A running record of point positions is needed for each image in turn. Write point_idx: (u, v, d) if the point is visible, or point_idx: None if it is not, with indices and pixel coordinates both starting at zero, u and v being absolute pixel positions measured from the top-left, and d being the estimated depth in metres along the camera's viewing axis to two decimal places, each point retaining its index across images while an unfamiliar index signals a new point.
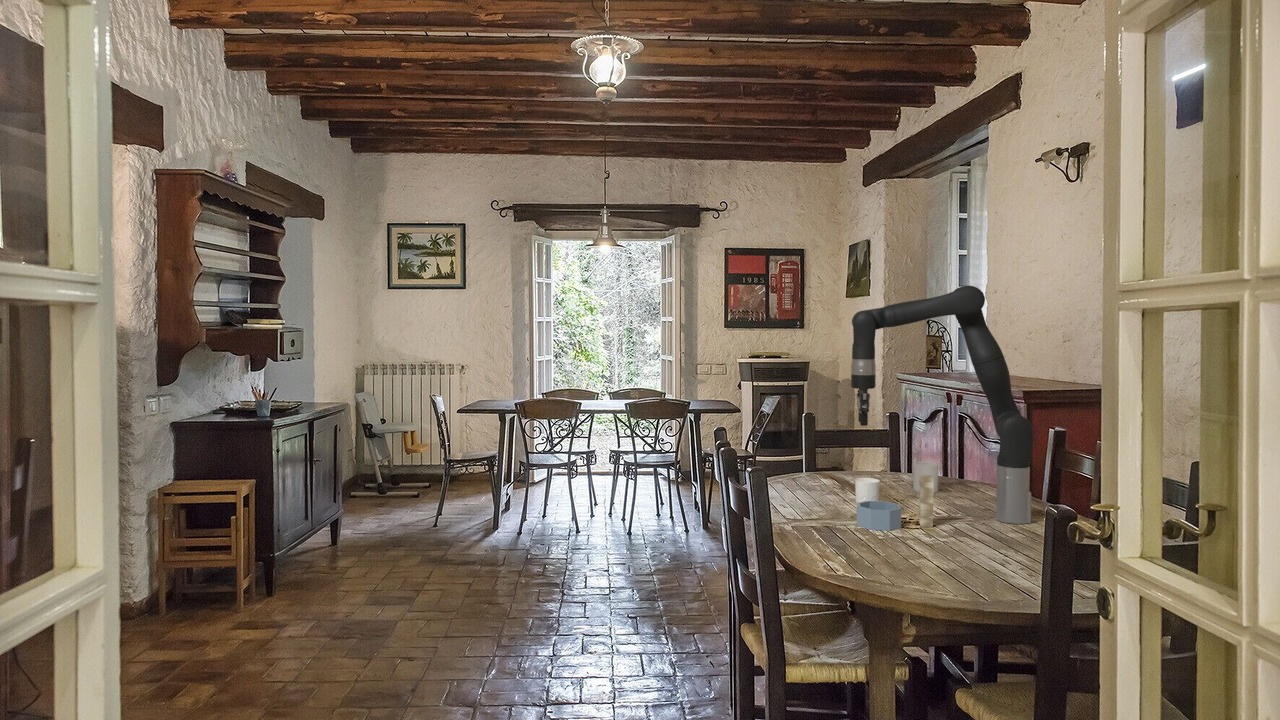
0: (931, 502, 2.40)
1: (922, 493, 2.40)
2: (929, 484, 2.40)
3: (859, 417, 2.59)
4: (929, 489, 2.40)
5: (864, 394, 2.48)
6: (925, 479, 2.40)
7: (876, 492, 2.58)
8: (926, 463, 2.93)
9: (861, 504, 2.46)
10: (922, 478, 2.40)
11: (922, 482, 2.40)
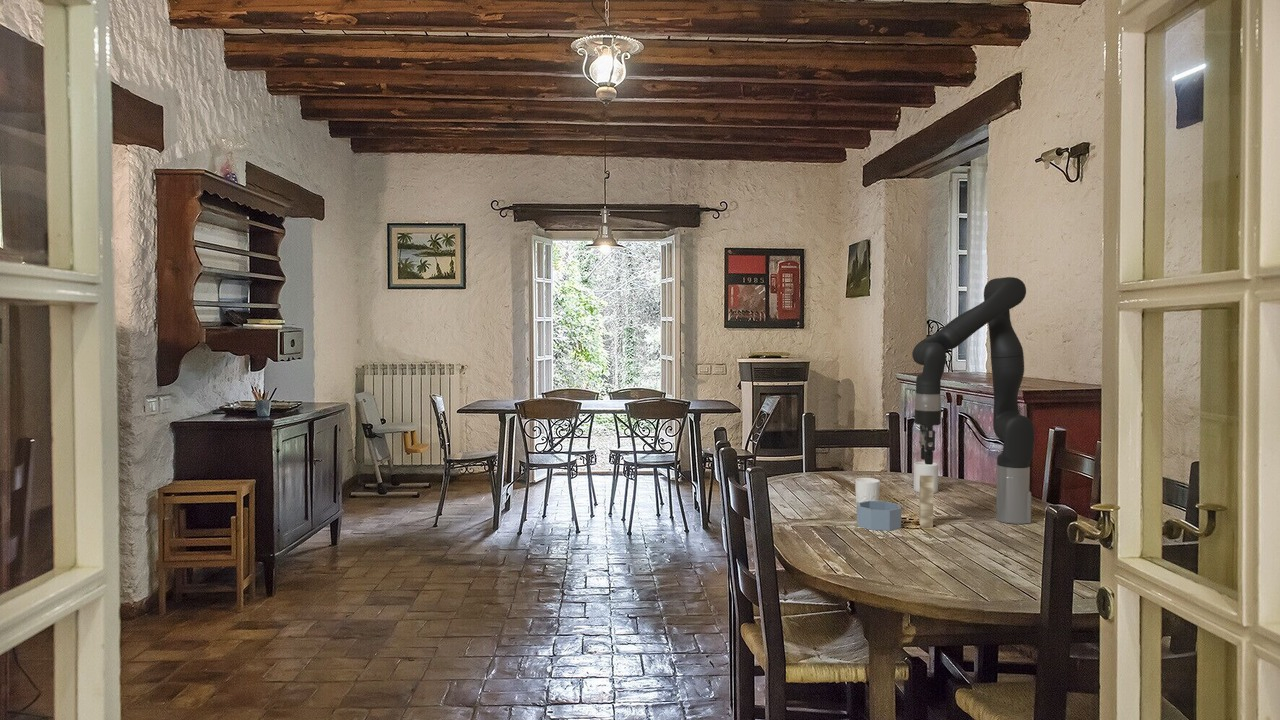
0: (931, 502, 2.40)
1: (922, 493, 2.40)
2: (929, 484, 2.40)
3: (922, 454, 2.45)
4: (929, 489, 2.40)
5: (930, 431, 2.34)
6: (925, 479, 2.40)
7: (876, 492, 2.58)
8: None
9: (861, 504, 2.46)
10: (922, 478, 2.40)
11: (922, 482, 2.40)
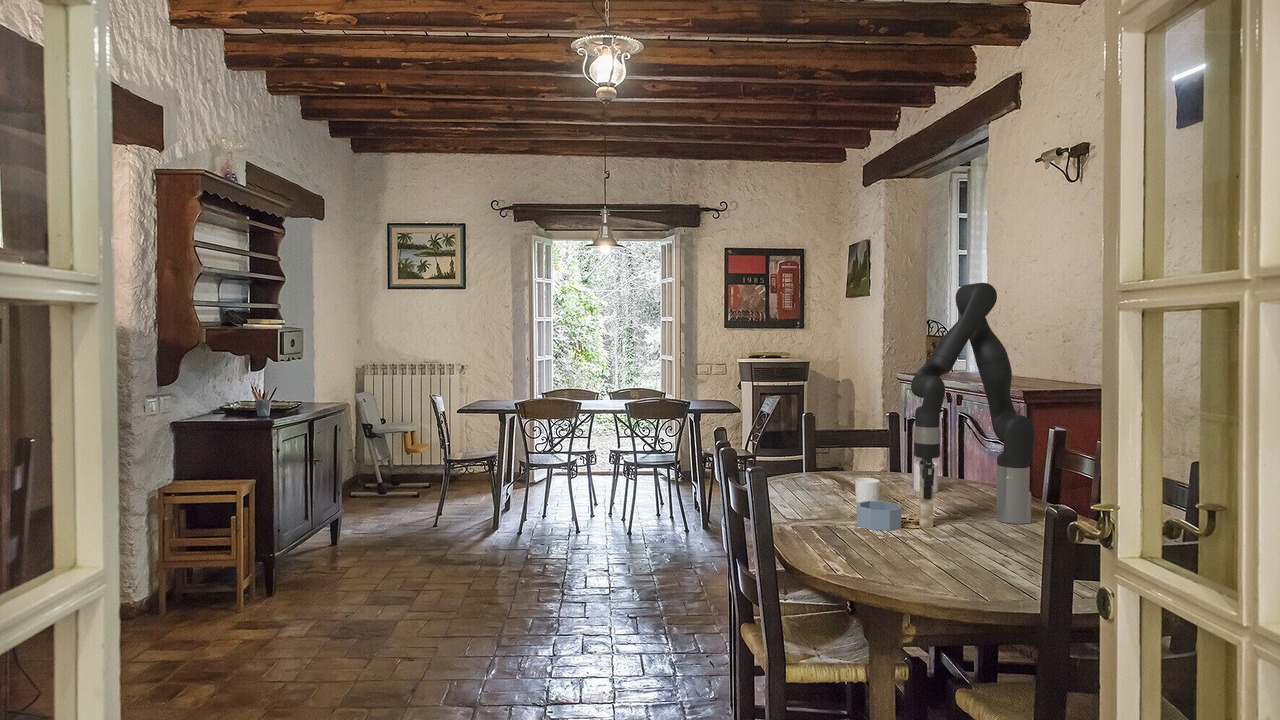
0: (931, 502, 2.40)
1: (922, 493, 2.40)
2: None
3: None
4: None
5: (929, 470, 2.35)
6: None
7: (876, 492, 2.58)
8: None
9: (861, 504, 2.46)
10: None
11: (922, 482, 2.40)
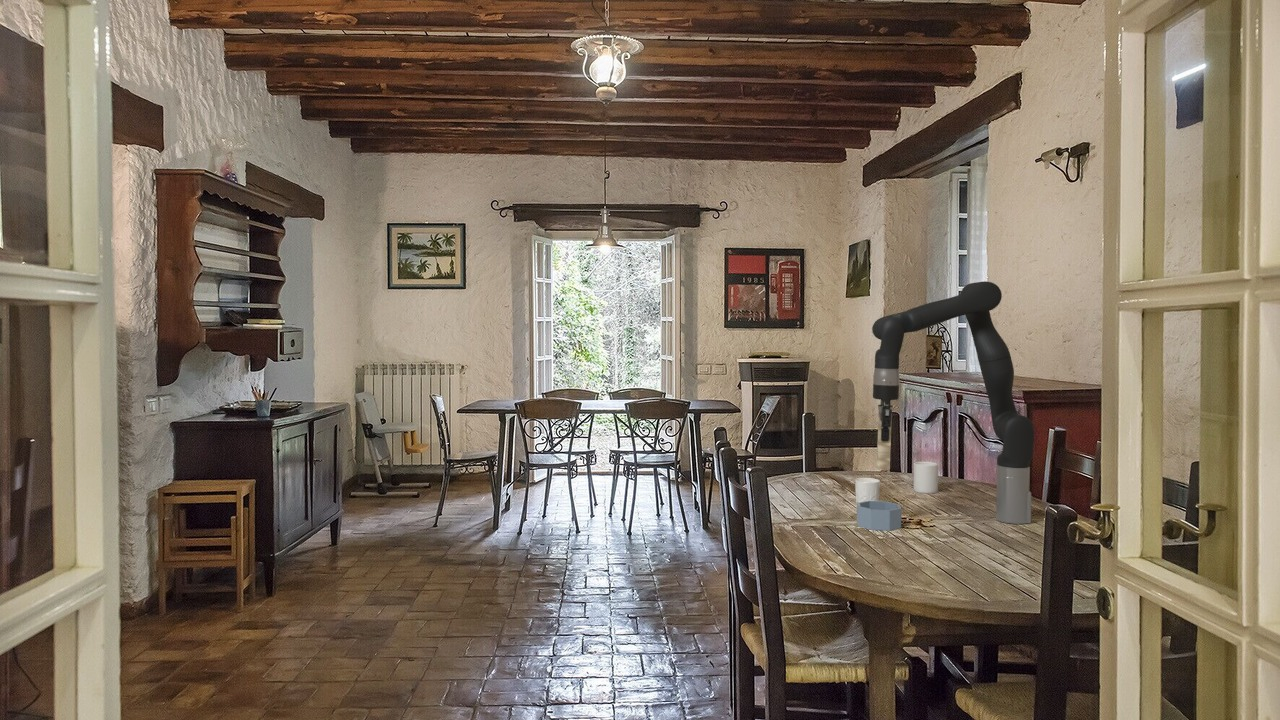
0: (888, 444, 2.40)
1: (880, 435, 2.40)
2: None
3: None
4: None
5: (887, 411, 2.35)
6: None
7: (876, 492, 2.58)
8: (926, 463, 2.93)
9: (861, 504, 2.46)
10: None
11: (880, 424, 2.40)
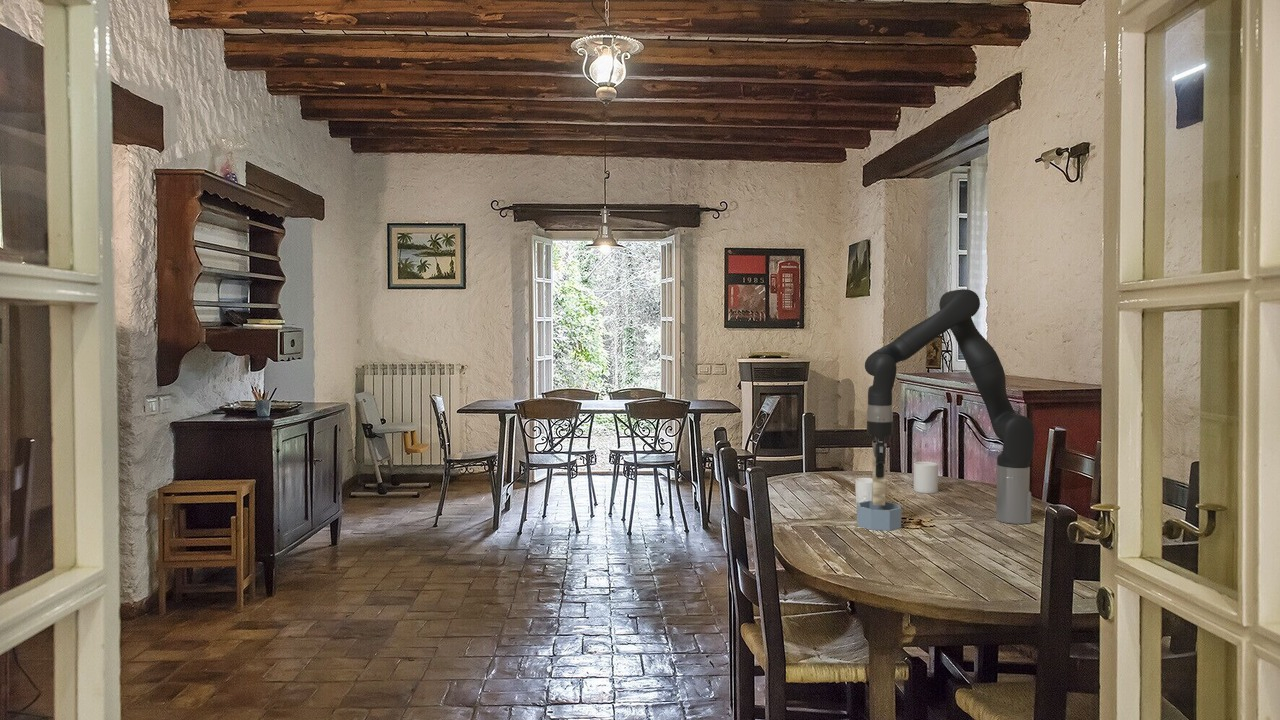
0: (883, 480, 2.40)
1: (874, 471, 2.41)
2: None
3: None
4: None
5: (881, 448, 2.35)
6: None
7: None
8: (926, 463, 2.93)
9: (861, 504, 2.46)
10: None
11: (874, 460, 2.40)
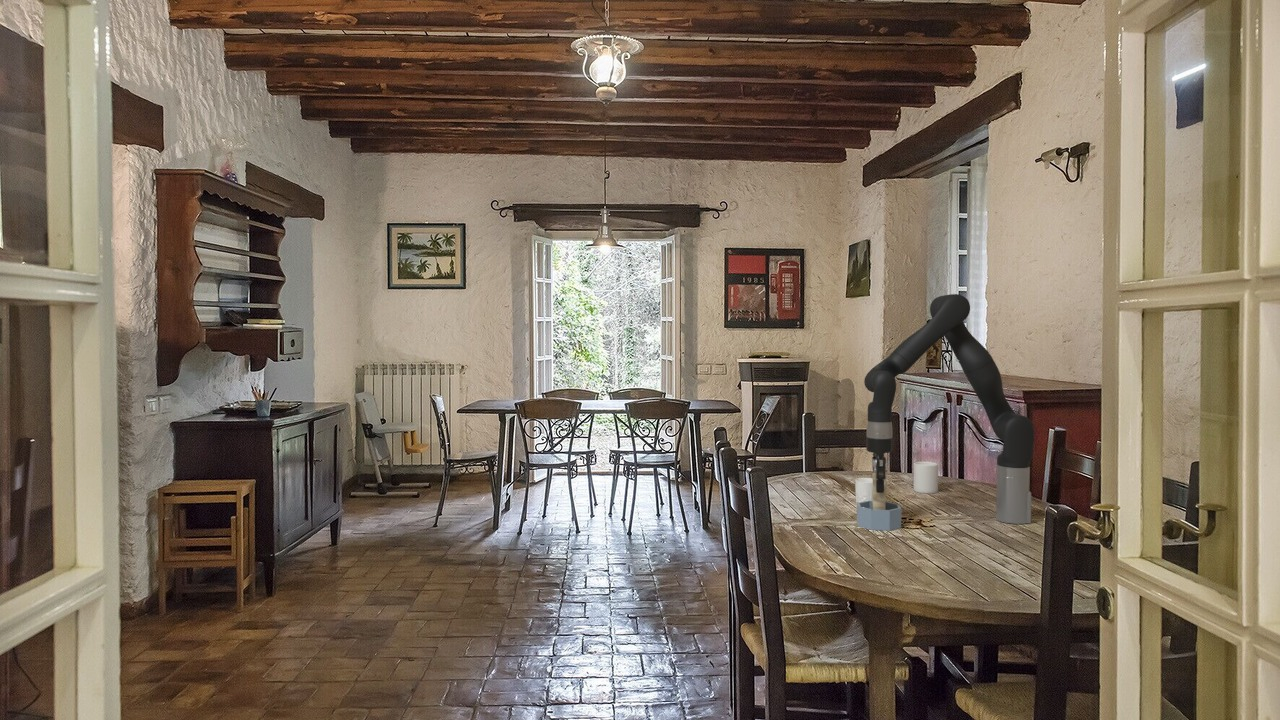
0: (883, 500, 2.40)
1: (874, 491, 2.41)
2: None
3: None
4: None
5: (881, 461, 2.35)
6: None
7: None
8: (926, 463, 2.93)
9: (861, 504, 2.46)
10: (875, 476, 2.41)
11: (874, 479, 2.41)
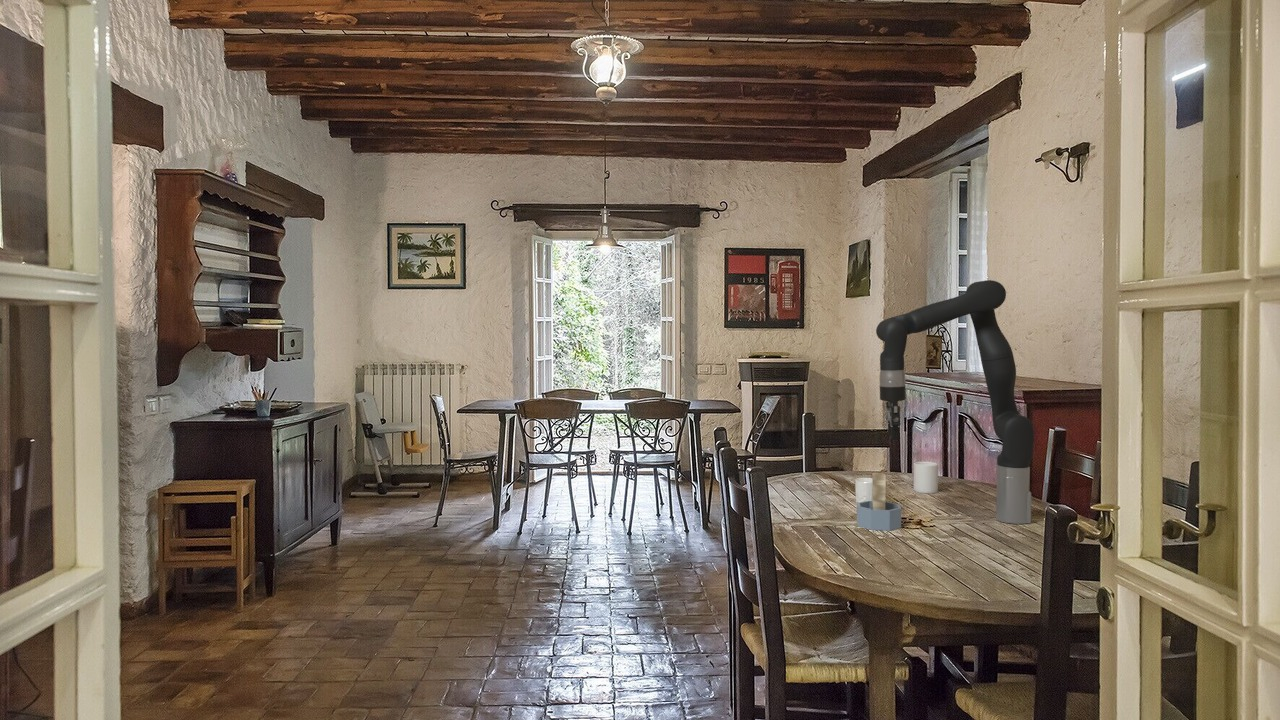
0: (883, 500, 2.41)
1: (874, 491, 2.41)
2: (881, 482, 2.40)
3: (889, 430, 2.48)
4: (881, 486, 2.40)
5: (895, 407, 2.37)
6: (877, 477, 2.41)
7: None
8: (926, 463, 2.93)
9: (861, 504, 2.46)
10: (874, 476, 2.41)
11: (874, 479, 2.41)
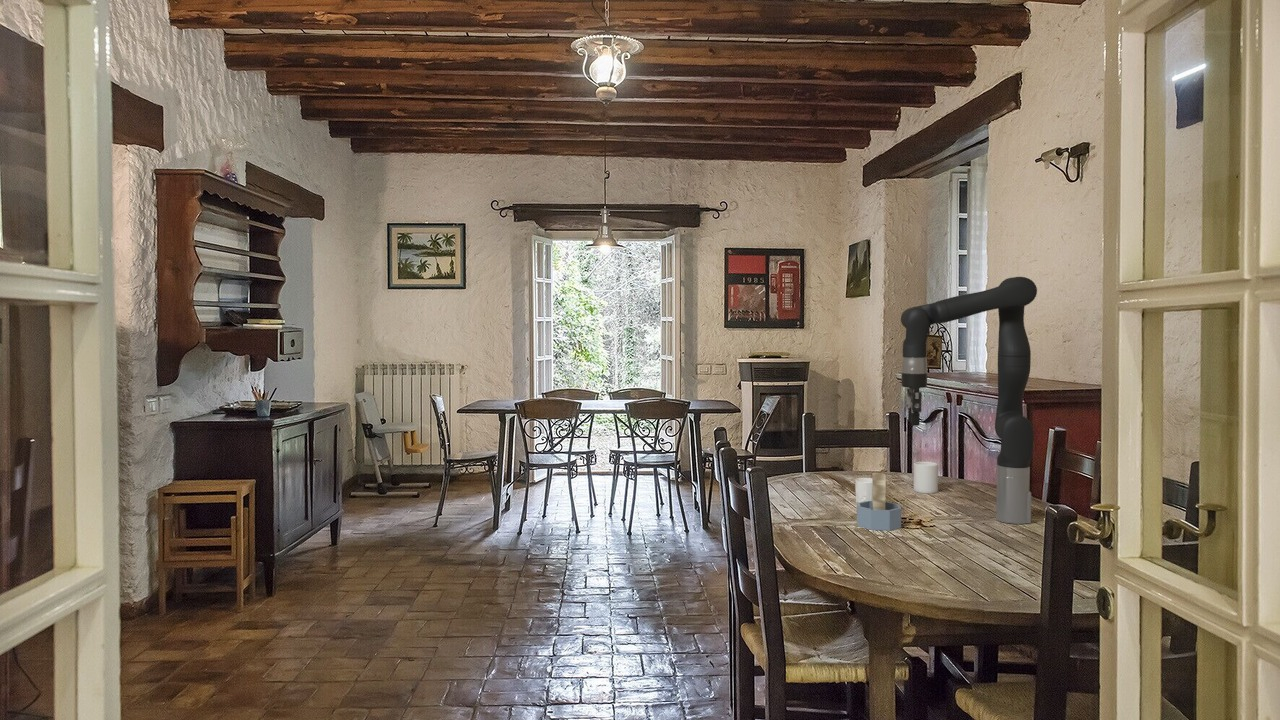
0: (883, 500, 2.41)
1: (874, 491, 2.41)
2: (881, 482, 2.40)
3: (909, 417, 2.52)
4: (881, 486, 2.40)
5: (916, 393, 2.41)
6: (877, 477, 2.40)
7: None
8: (926, 463, 2.93)
9: (861, 504, 2.46)
10: (874, 476, 2.41)
11: (874, 479, 2.41)
